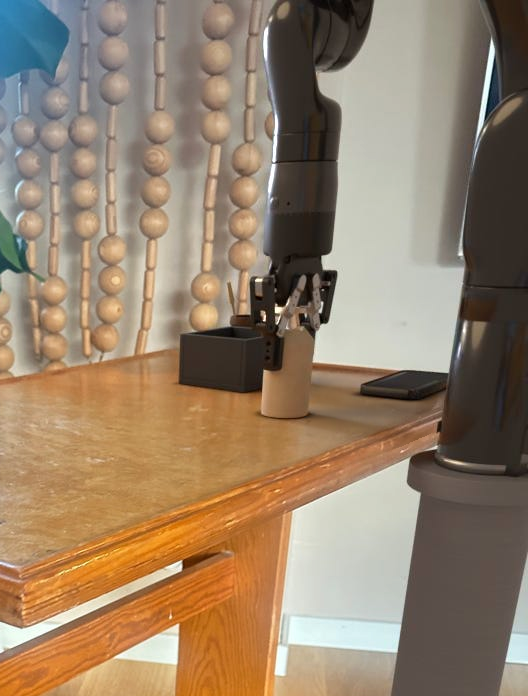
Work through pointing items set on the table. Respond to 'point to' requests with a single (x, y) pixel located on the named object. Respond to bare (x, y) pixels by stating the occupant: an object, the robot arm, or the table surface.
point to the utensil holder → (238, 319)
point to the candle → (290, 377)
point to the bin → (222, 359)
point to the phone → (406, 384)
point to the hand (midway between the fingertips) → (287, 366)
